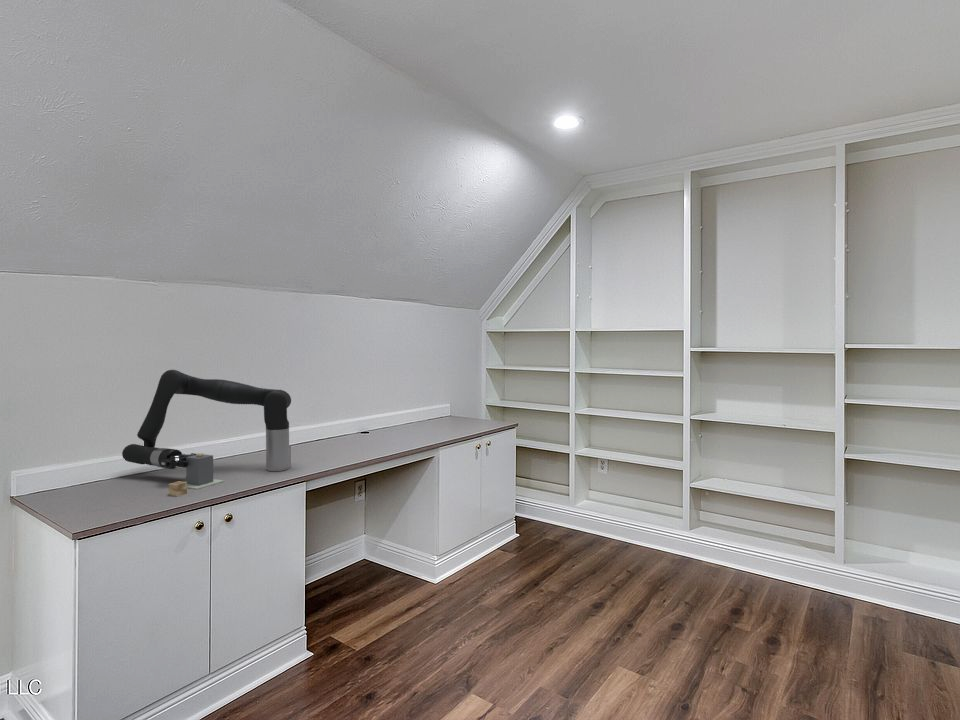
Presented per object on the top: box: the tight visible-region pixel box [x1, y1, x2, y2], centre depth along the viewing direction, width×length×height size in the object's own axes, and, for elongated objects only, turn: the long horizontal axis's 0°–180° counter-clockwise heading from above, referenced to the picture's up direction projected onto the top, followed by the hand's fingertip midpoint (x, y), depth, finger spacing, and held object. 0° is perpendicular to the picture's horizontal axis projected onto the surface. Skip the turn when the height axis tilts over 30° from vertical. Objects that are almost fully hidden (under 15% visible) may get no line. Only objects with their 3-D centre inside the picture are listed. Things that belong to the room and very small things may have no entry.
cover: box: [185, 452, 214, 486], centre depth 208 cm, size 6×6×11 cm
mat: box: [187, 478, 225, 490], centre depth 208 cm, size 12×12×1 cm
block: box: [168, 480, 188, 497], centre depth 194 cm, size 4×4×4 cm
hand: (196, 462), depth 208 cm, fingers open, 8 cm apart
